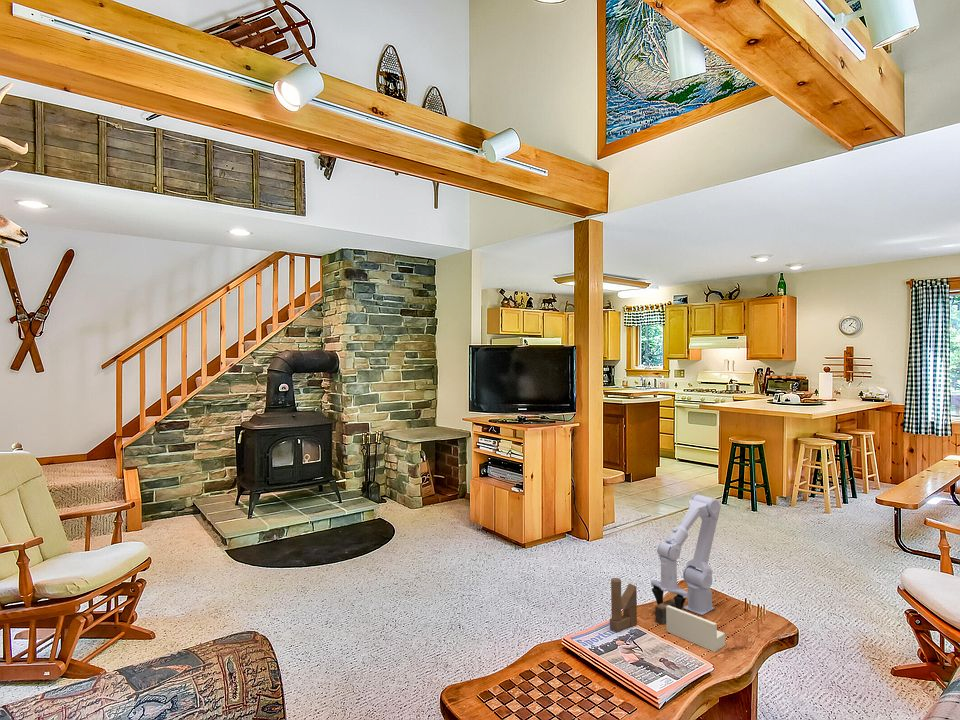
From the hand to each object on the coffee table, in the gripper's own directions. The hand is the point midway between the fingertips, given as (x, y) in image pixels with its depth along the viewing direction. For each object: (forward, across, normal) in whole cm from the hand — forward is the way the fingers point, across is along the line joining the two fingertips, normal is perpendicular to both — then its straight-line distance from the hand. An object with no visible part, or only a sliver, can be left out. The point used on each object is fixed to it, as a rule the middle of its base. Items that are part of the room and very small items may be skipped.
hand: (669, 610), depth 200 cm
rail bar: (+3, 0, 0) cm, 3 cm away
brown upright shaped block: (+3, -7, -19) cm, 20 cm away
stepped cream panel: (+3, +14, -6) cm, 16 cm away
